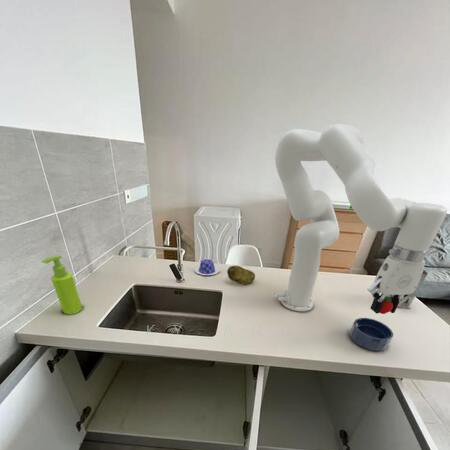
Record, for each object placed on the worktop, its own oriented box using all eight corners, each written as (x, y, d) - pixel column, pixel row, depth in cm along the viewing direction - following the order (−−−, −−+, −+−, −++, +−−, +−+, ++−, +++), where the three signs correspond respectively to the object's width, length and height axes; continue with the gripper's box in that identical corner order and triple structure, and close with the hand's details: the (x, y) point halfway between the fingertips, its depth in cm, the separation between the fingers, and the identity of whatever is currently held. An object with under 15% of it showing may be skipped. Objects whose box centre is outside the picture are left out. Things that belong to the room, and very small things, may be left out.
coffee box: (384, 295, 107) (400, 261, 98) (400, 297, 106) (417, 263, 97) (392, 306, 99) (410, 270, 91) (409, 309, 98) (429, 273, 90)
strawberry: (379, 316, 72) (385, 302, 69) (370, 308, 76) (376, 294, 73) (393, 315, 72) (399, 302, 70) (383, 307, 76) (389, 294, 74)
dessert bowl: (361, 352, 75) (367, 340, 72) (342, 329, 84) (347, 318, 81) (394, 351, 76) (401, 339, 73) (372, 329, 85) (378, 317, 83)
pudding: (189, 272, 117) (189, 262, 114) (202, 264, 126) (202, 254, 123) (211, 278, 112) (211, 268, 110) (223, 269, 121) (223, 259, 119)
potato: (255, 287, 107) (257, 271, 103) (226, 286, 107) (227, 269, 103) (254, 279, 114) (256, 263, 110) (226, 277, 114) (227, 261, 110)
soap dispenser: (56, 313, 84) (35, 258, 73) (73, 303, 89) (56, 251, 79) (69, 317, 82) (49, 262, 72) (85, 307, 88) (70, 255, 77)
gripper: (388, 258, 60) (363, 318, 70) (448, 258, 62) (416, 317, 71) (369, 248, 67) (349, 304, 76) (425, 249, 68) (398, 303, 78)
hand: (382, 310), depth 74 cm, fingers closed on strawberry, 4 cm apart
